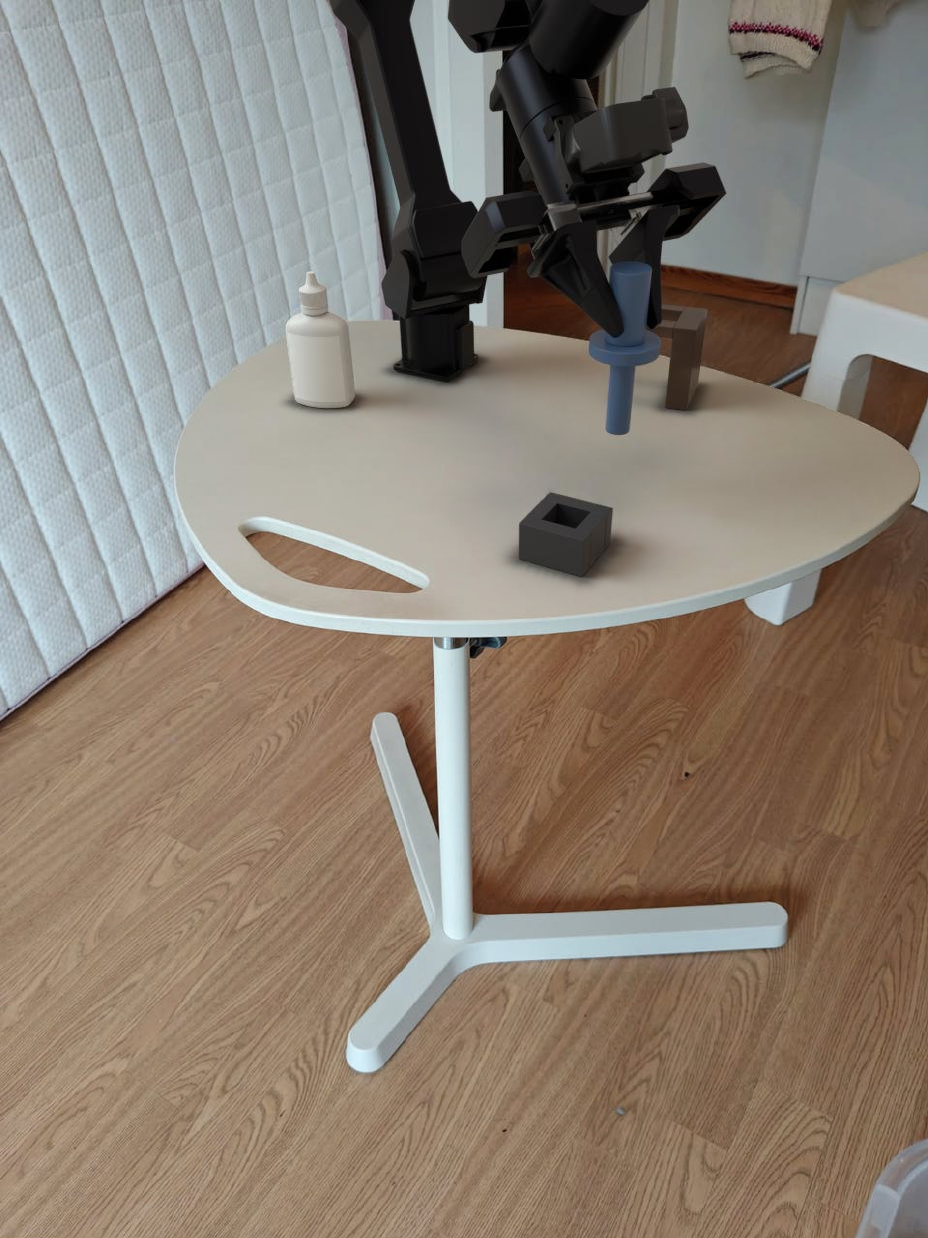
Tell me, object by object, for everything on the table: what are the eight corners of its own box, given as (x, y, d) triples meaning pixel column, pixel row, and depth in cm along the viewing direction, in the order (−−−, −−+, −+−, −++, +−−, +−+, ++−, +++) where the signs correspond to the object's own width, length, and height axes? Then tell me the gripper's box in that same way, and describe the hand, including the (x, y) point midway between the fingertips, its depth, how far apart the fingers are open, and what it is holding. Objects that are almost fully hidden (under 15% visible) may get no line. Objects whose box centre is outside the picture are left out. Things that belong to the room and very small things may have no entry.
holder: (518, 558, 70) (518, 522, 68) (548, 526, 73) (549, 491, 72) (582, 577, 68) (584, 540, 66) (610, 543, 71) (613, 507, 70)
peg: (577, 440, 72) (586, 276, 65) (591, 411, 76) (602, 253, 68) (645, 449, 71) (662, 282, 63) (656, 419, 74) (673, 258, 67)
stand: (601, 399, 91) (606, 320, 87) (616, 376, 95) (621, 299, 91) (686, 410, 89) (696, 329, 84) (697, 386, 93) (707, 308, 88)
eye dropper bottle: (327, 417, 90) (312, 285, 82) (288, 400, 93) (270, 272, 85) (362, 401, 92) (350, 272, 85) (323, 385, 95) (308, 260, 88)
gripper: (479, 54, 58) (572, 297, 56) (728, 29, 64) (816, 245, 63) (426, 170, 68) (504, 377, 67) (645, 138, 75) (720, 325, 74)
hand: (637, 330), depth 67 cm, fingers closed on peg, 3 cm apart
